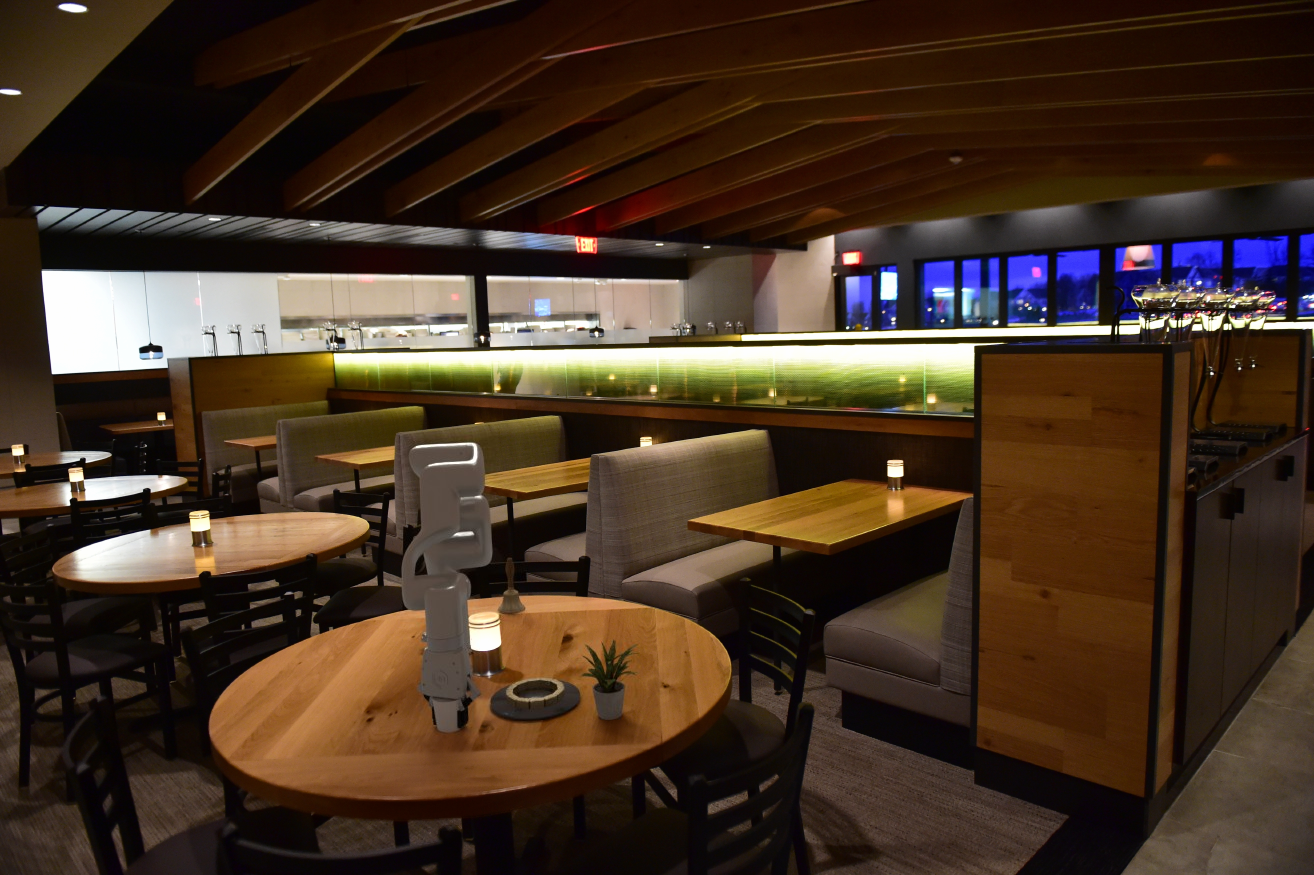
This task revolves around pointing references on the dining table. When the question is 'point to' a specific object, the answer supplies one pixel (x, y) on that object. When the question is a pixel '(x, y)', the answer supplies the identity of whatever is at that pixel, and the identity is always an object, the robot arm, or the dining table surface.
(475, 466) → the robot arm
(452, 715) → the gray tapered cylinder
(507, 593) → the hand bell
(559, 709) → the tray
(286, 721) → the dining table surface
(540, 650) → the dining table surface
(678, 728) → the dining table surface
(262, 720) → the dining table surface
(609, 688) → the house plant
